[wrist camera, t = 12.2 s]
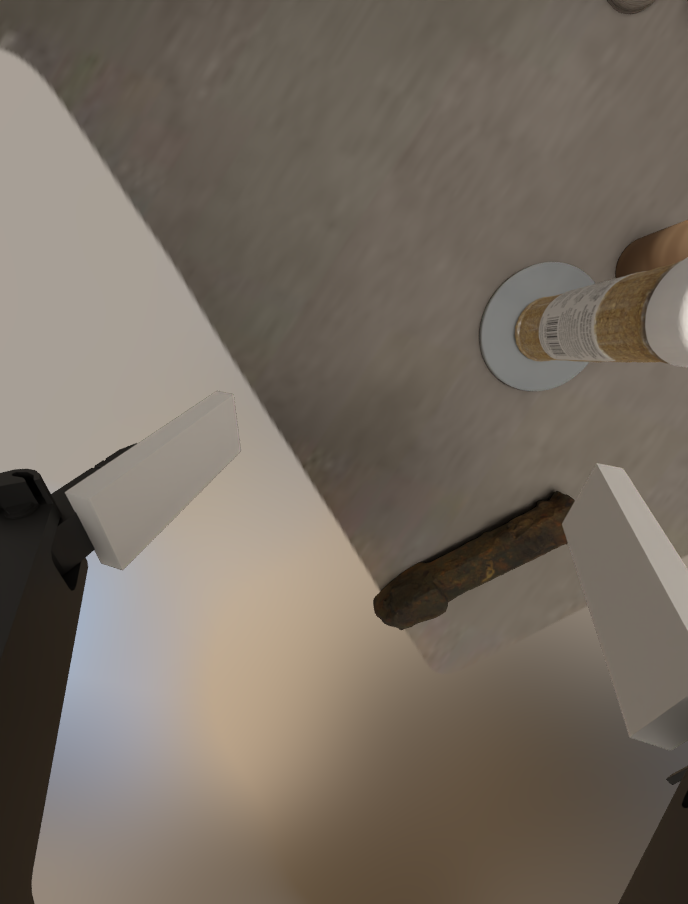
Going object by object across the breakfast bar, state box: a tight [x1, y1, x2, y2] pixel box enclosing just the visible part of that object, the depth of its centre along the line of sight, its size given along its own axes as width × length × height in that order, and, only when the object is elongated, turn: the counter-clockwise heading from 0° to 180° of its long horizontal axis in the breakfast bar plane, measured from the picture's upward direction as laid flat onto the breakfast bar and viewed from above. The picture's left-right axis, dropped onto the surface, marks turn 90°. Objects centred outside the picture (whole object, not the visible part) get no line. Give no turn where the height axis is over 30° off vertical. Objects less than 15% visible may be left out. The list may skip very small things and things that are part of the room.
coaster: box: [479, 262, 595, 391], centre depth 26 cm, size 9×9×1 cm
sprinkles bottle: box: [515, 257, 688, 367], centre depth 19 cm, size 5×5×14 cm
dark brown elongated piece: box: [373, 491, 575, 630], centre depth 29 cm, size 19×4×5 cm, turn 118°
